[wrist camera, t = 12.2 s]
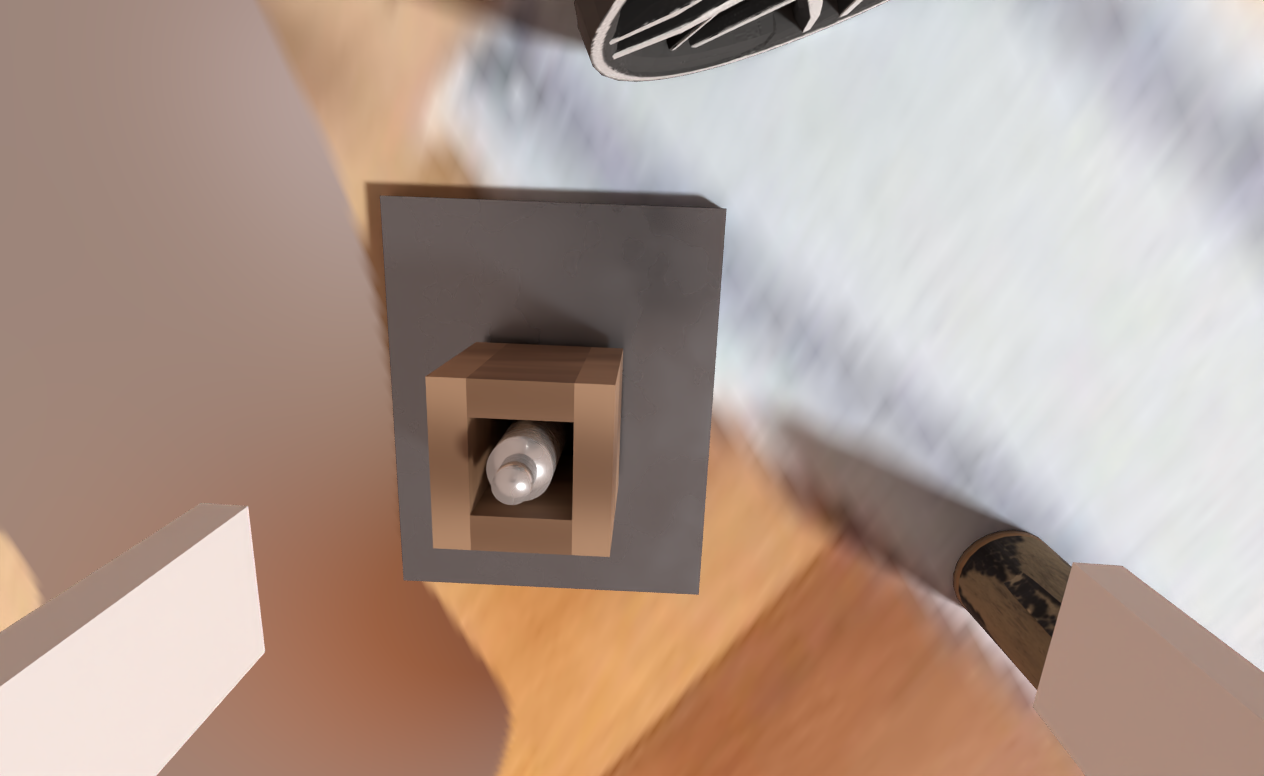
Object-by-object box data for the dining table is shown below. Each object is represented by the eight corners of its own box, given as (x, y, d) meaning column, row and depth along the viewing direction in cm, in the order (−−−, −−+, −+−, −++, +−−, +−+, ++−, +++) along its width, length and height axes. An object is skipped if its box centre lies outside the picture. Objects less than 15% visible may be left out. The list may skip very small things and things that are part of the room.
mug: (1078, 580, 34) (1296, 762, 23) (994, 639, 35) (1162, 842, 24) (991, 481, 33) (1176, 621, 22) (907, 546, 34) (1039, 712, 23)
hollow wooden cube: (476, 341, 30) (425, 376, 23) (623, 348, 30) (615, 384, 23) (479, 478, 32) (433, 548, 25) (618, 485, 32) (609, 557, 25)
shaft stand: (390, 196, 30) (255, 182, 20) (723, 209, 30) (761, 201, 20) (411, 568, 35) (313, 711, 25) (697, 582, 35) (716, 732, 25)
